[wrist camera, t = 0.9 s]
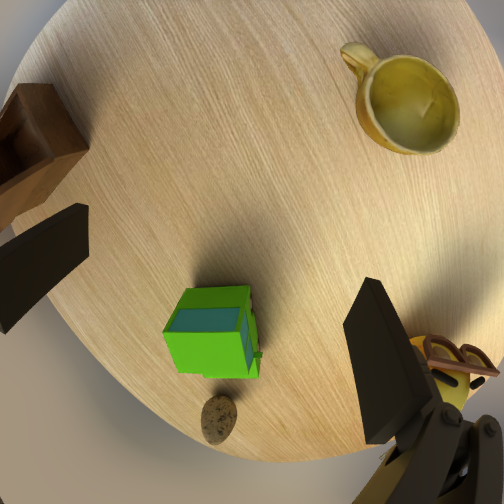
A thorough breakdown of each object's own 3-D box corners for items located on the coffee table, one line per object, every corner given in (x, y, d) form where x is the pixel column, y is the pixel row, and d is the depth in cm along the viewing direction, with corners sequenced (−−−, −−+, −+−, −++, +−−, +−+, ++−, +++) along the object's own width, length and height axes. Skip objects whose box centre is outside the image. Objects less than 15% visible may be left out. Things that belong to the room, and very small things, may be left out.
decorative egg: (212, 407, 49) (201, 451, 39) (202, 388, 46) (188, 434, 37) (243, 407, 47) (235, 452, 38) (235, 387, 45) (225, 436, 36)
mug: (460, 126, 23) (485, 128, 16) (391, 167, 30) (389, 184, 22) (396, 37, 22) (394, 6, 14) (330, 81, 28) (304, 66, 21)
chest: (11, 142, 31) (-20, 150, 25) (52, 83, 27) (18, 83, 21) (43, 203, 35) (13, 218, 28) (89, 149, 31) (55, 157, 25)
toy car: (203, 357, 43) (187, 407, 34) (181, 284, 37) (153, 332, 28) (269, 356, 41) (264, 410, 32) (259, 279, 36) (250, 331, 27)
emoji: (467, 322, 36) (509, 388, 22) (414, 388, 42) (435, 454, 29) (398, 297, 35) (438, 380, 21) (343, 375, 42) (354, 455, 28)
